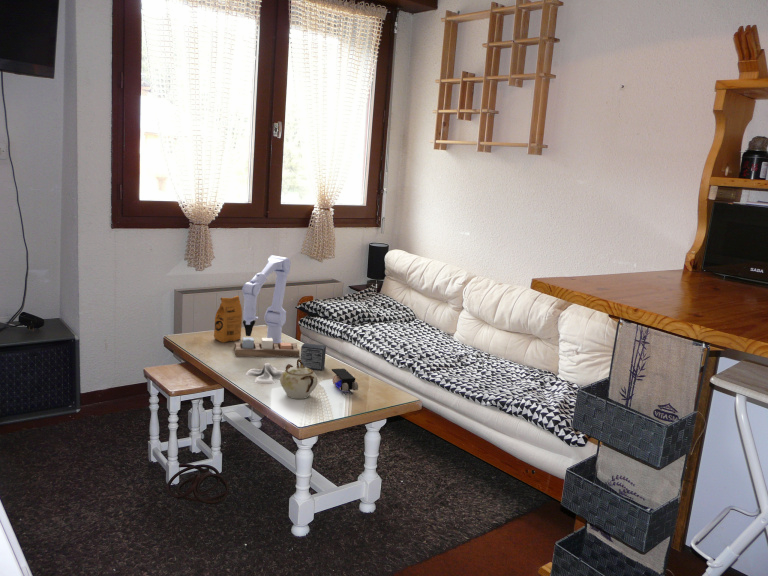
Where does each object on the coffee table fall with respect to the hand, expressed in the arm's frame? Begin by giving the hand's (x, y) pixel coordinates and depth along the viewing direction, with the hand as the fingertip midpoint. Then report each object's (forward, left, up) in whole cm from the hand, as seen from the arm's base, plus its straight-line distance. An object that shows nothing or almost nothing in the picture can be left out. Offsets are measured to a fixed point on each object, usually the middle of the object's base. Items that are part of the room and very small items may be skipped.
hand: (248, 335), depth 310 cm
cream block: (0, +9, -6) cm, 11 cm away
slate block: (0, 0, -6) cm, 6 cm away
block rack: (0, +9, -8) cm, 12 cm away
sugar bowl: (+57, +17, -8) cm, 60 cm away
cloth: (+33, +8, -9) cm, 35 cm away
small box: (+22, +28, -8) cm, 37 cm away
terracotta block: (0, +18, -8) cm, 20 cm away
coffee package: (-21, -9, -8) cm, 24 cm away
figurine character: (+51, +37, -8) cm, 64 cm away
